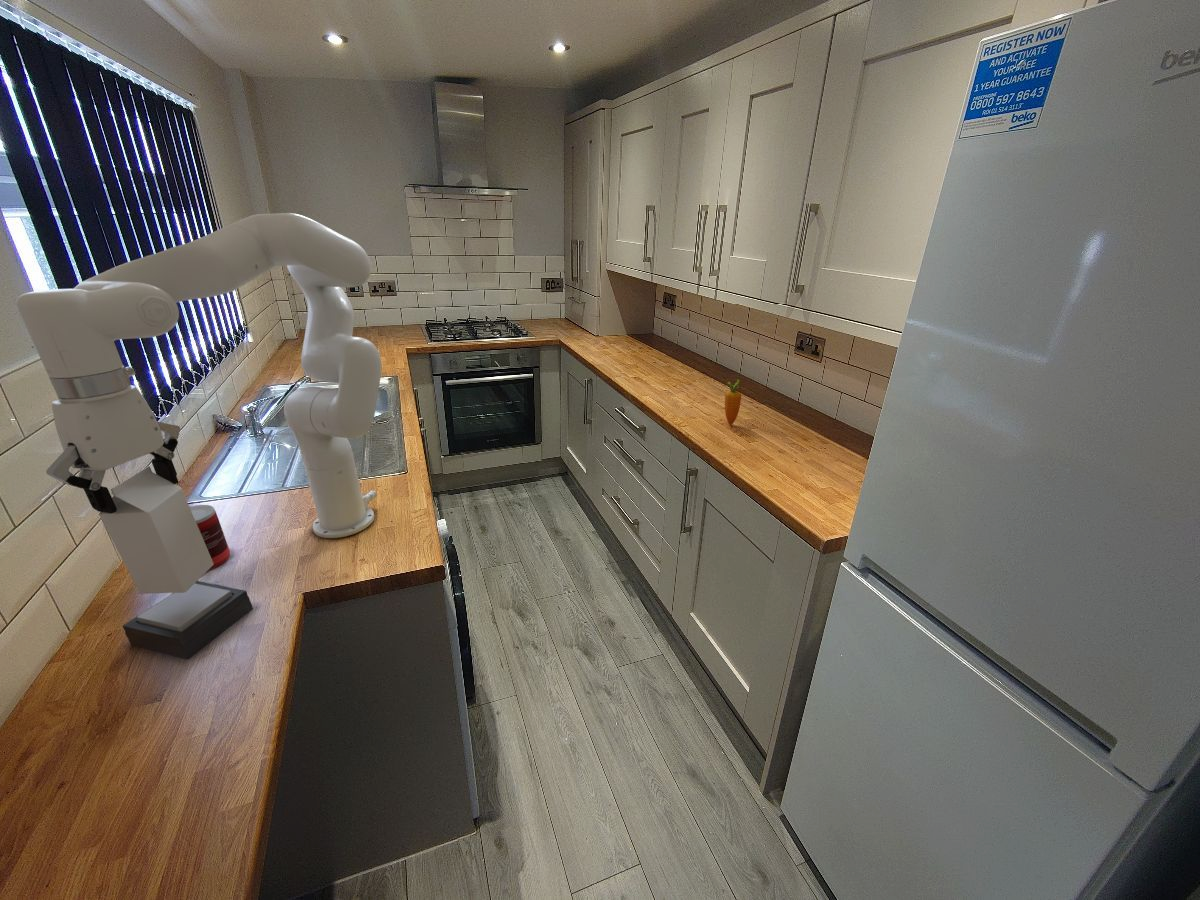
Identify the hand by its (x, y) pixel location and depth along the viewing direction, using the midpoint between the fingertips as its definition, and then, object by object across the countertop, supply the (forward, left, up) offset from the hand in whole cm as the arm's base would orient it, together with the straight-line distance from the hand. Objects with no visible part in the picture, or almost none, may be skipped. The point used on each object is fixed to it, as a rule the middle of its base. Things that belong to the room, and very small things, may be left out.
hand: (139, 496), depth 78 cm
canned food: (-15, -15, -25) cm, 33 cm away
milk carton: (-1, 0, -16) cm, 16 cm away
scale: (0, 0, -25) cm, 25 cm away
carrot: (-116, +83, -25) cm, 145 cm away
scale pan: (0, 0, -22) cm, 22 cm away
